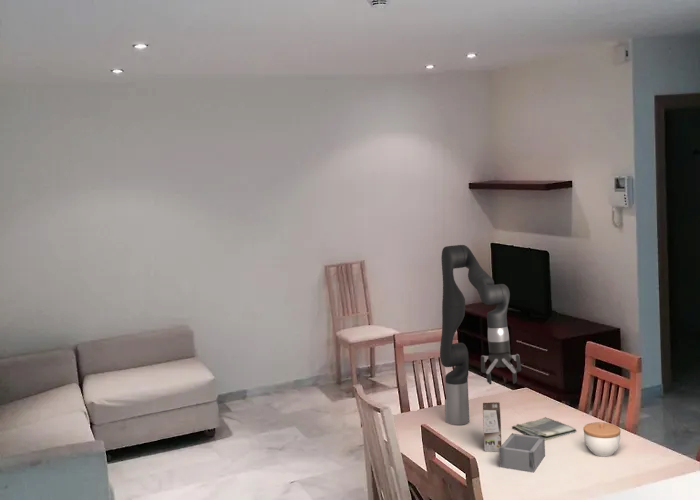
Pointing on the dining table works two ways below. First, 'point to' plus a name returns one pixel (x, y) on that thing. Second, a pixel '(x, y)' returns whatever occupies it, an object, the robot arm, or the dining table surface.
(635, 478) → the dining table surface
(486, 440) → the coffee box
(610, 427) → the lidded bowl
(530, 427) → the dish towel
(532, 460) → the grey open box
